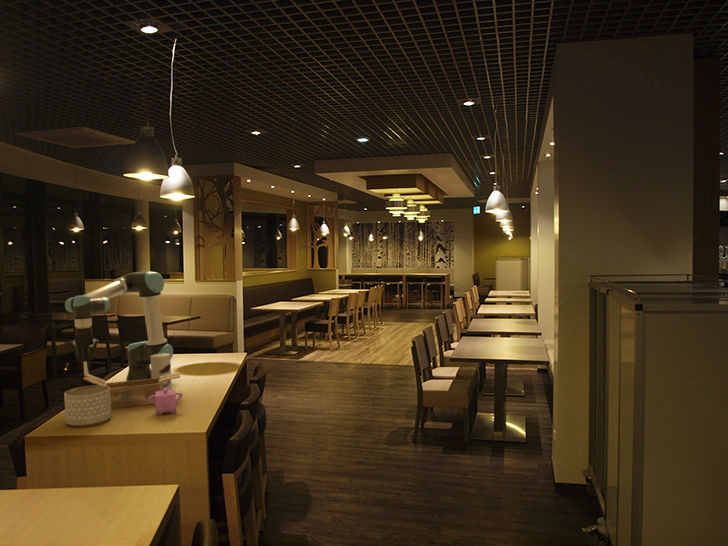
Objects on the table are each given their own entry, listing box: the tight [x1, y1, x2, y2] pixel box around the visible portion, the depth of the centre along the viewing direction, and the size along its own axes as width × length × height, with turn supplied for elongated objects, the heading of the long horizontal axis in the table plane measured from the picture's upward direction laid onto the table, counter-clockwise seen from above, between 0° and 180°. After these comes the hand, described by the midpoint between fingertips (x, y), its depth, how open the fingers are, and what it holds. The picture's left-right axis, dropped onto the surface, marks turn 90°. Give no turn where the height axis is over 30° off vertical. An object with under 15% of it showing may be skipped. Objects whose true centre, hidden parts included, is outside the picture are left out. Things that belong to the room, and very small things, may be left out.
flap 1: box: [82, 373, 107, 386], centre depth 285 cm, size 12×1×10 cm
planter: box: [63, 384, 112, 427], centre depth 261 cm, size 19×19×14 cm
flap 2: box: [159, 371, 181, 382], centre depth 296 cm, size 12×1×10 cm
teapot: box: [148, 388, 184, 416], centre depth 272 cm, size 15×13×11 cm
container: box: [150, 353, 173, 391], centre depth 312 cm, size 10×10×20 cm
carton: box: [104, 378, 161, 410], centre depth 290 cm, size 16×26×10 cm, turn 108°
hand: (86, 374), depth 284 cm, fingers closed
